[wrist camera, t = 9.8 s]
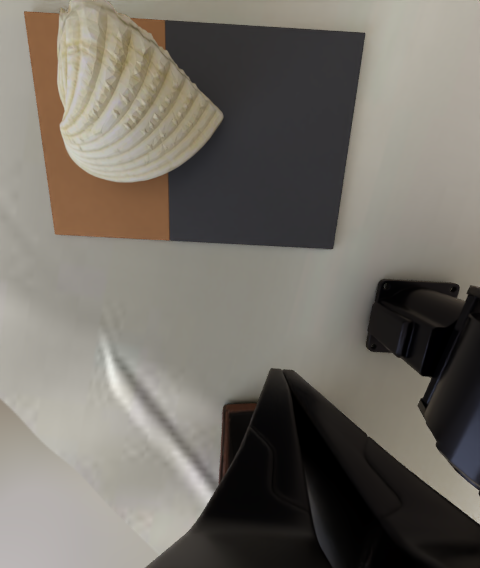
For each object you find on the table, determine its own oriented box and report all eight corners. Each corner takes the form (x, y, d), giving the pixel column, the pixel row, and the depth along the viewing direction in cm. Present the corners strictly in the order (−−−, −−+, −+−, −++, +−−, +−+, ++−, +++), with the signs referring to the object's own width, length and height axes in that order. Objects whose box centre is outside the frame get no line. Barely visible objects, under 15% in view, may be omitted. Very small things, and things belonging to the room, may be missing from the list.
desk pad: (362, 36, 16) (365, 32, 15) (331, 248, 19) (333, 249, 19) (29, 16, 16) (23, 11, 15) (58, 234, 19) (54, 234, 19)
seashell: (21, 31, 14) (88, -114, 9) (150, 124, 21) (222, 67, 16) (12, 163, 13) (83, 68, 8) (151, 214, 20) (229, 178, 15)
